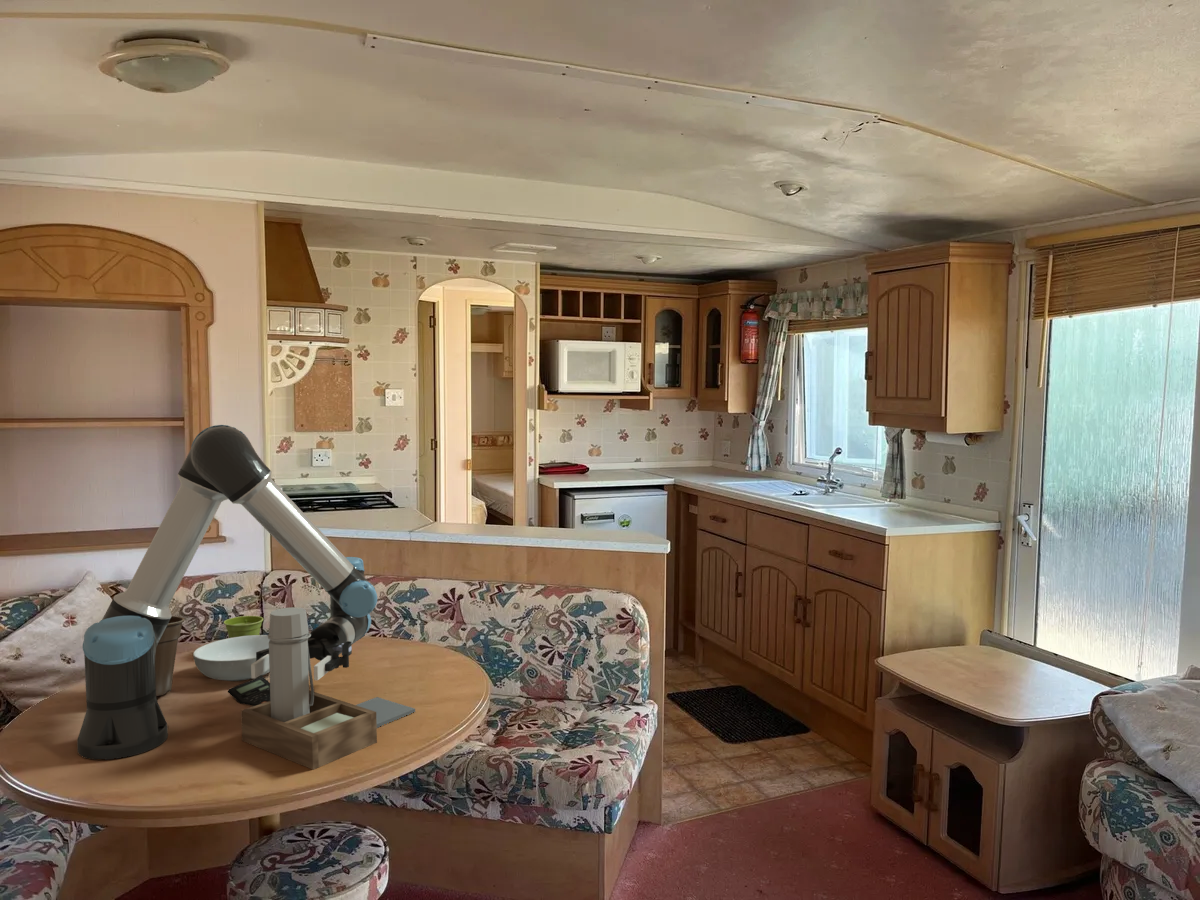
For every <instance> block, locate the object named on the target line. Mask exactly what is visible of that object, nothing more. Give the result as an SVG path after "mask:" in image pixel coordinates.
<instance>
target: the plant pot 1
mask: <svg viewBox="0 0 1200 900" xmlns="http://www.w3.org/2000/svg"><path fill="white" fill-rule="evenodd" d="M184 622H185V617H182V616H176V615H172V617H171V619H170V621H169V623H168V625H167V627H166V629H165V631H164V633H163V635H162V637H161V639H160V641H159V643H158V645H157V647H156V653H155V681H156V697H159V696H164V695H166V694H167V693H170V692H171V691H172V686H173V677H174V670H175V663H176V662H175V661H176V657H177V656H176V654H177V648H178V642H179V639H180V637H181V634H182V626H183V623H184Z"/></svg>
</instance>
